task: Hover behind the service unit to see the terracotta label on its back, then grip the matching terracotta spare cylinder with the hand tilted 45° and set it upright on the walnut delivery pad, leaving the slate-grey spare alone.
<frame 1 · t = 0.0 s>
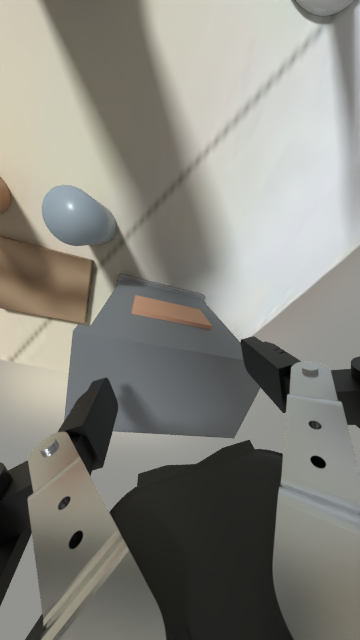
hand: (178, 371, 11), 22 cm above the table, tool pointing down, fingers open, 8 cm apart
service unit: (157, 307, 33), on the table
grey spare: (97, 224, 27), on the table
delivery pad: (46, 282, 29), on the table
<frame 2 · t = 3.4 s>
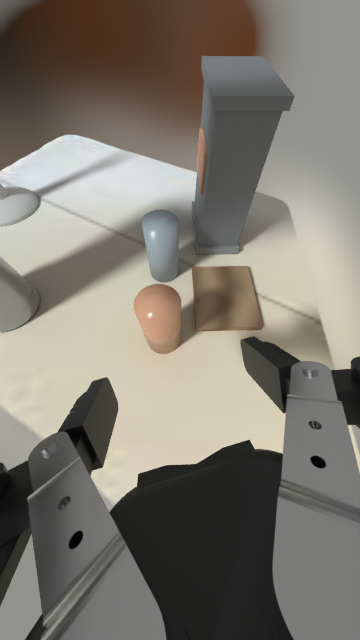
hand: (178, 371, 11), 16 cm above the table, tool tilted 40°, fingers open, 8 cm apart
candlestick: (8, 208, 43), on the table
service unit: (212, 229, 40), on the table
grey spare: (164, 271, 35), on the table
delivery pad: (223, 297, 33), on the table
terracotta spare: (163, 337, 29), on the table
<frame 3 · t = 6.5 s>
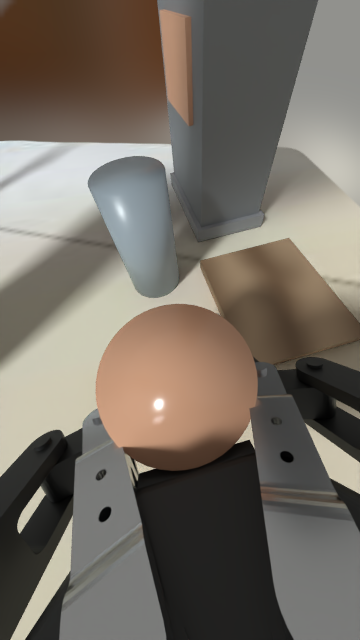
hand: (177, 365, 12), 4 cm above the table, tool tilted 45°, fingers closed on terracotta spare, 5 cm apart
service unit: (210, 202, 27), on the table
grey spare: (156, 278, 21), on the table
delivery pad: (268, 298, 19), on the table
terracotta spare: (188, 403, 15), on the table, touching gripper
when the fingers open (7 cm above the table, at t = 11.6 s): terracotta spare drops 1 cm, resting on delivery pad.
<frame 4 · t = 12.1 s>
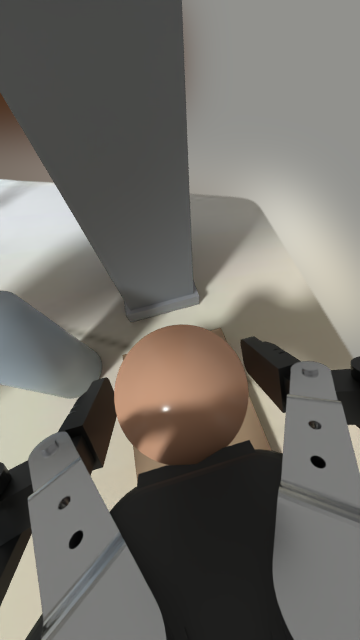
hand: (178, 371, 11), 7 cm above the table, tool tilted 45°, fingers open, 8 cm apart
service unit: (153, 268, 25), on the table
grey spare: (77, 371, 19), on the table
delivery pad: (189, 406, 17), on the table
terracotta spare: (190, 407, 16), point 1 cm above the table, touching delivery pad
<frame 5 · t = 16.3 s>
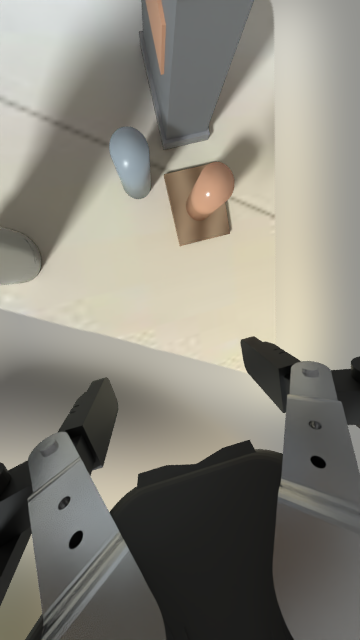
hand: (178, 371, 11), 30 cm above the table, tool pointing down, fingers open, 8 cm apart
service unit: (175, 94, 32), on the table
grey spare: (136, 183, 34), on the table
delivery pad: (197, 206, 37), on the table
terracotta spare: (199, 205, 36), point 1 cm above the table, touching delivery pad
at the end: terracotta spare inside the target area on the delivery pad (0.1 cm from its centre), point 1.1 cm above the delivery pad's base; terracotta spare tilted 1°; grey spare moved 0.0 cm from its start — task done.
